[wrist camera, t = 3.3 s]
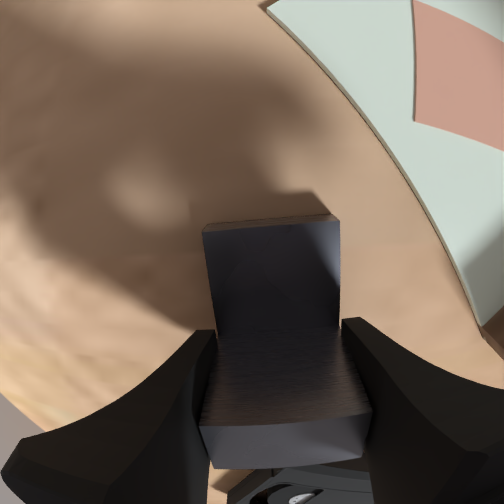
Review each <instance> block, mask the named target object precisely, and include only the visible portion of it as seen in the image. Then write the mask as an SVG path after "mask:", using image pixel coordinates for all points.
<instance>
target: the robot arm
mask: <svg viewBox="0 0 504 504" xmlns="http://www.w3.org/2000/svg"><path fill="white" fill-rule="evenodd" d="M341 333H342V336H343V338H344V341H345V343H346V346H347V348H348V351H349V352H350V354H351V356H352V358H353V361H354V363H355V366H356V368H357V371H358V374H359V376H360V379H361V381H362V384H363V386H364V389H365V392H366V394H367V397H368V400H369V402H370V405H371V408H372V410H373V414H372V418H371V422H370V426H369V430H368V434H367V438H366V442H365V446H364V452H365V455H366V460H367V465H368V470H369V475H370V481H371V487H372V493H373V499H374V504H504V390H503V389H499V388H494V387H490V386H487V385H483V384H480V383H477V382H474V381H471V380H468V379H465V378H462V377H460V376H457V375H455V374H452V373H450V372H448V371H446V370H443V369H441V368H439V367H437V366H435V365H433V364H431V363H429V362H427V361H425V360H424V359H422V358H420V357H418V356H417V355H415V354H413V353H412V352H410V351H408V350H407V349H405V348H404V347H402V346H401V345H399V344H398V343H396V342H395V341H393V340H392V339H390V338H389V337H388V336H386V335H385V334H383V333H382V332H381V331H379V330H378V329H376V328H375V327H374V326H372V325H371V324H370V323H368V322H367V321H365V320H364V319H362V318H361V317H354V318H346V319H342V323H341ZM216 346H217V338H216V333H215V330H196V331H195V332H194V333H193V334H192V335H191V336H190V337H189V338H188V339H187V340H186V341H185V342H184V343H183V345H182V346H181V347H180V348H179V349H178V350H177V351H176V352H175V353H174V354H173V355H172V356H171V357H170V358H168V359H167V360H166V361H165V362H164V363H163V364H162V365H161V366H160V367H159V368H158V369H156V370H155V371H154V372H153V373H152V374H151V375H150V376H148V377H147V378H146V379H145V380H144V381H143V382H141V383H140V384H139V385H137V386H136V387H135V388H133V389H132V390H131V391H129V392H128V393H126V394H125V395H123V396H122V397H120V398H119V399H117V400H116V401H114V402H112V403H111V404H109V405H107V406H105V407H104V408H102V409H100V410H98V411H96V412H94V413H93V414H91V415H89V416H87V417H85V418H82V419H80V420H78V421H76V422H73V423H71V424H68V425H66V426H63V427H61V428H58V429H55V430H52V431H48V432H45V433H42V434H38V435H34V436H31V437H27V438H23V439H21V440H20V441H19V443H18V445H17V446H16V448H15V449H14V451H13V452H12V454H11V456H10V457H9V459H8V460H7V462H6V464H5V465H4V467H3V468H2V470H1V476H2V479H3V481H4V482H5V484H6V485H7V486H8V487H9V488H10V489H11V490H12V492H14V493H15V494H16V495H17V496H18V497H19V498H20V499H21V500H22V501H23V502H24V503H26V504H207V489H208V477H209V466H210V460H211V459H210V457H209V454H208V451H207V448H206V446H205V443H204V440H203V437H202V434H201V431H200V428H199V422H200V417H201V412H202V408H203V403H204V398H205V394H206V389H207V384H208V380H209V375H210V370H211V366H212V363H213V360H214V355H215V351H216Z"/></svg>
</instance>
